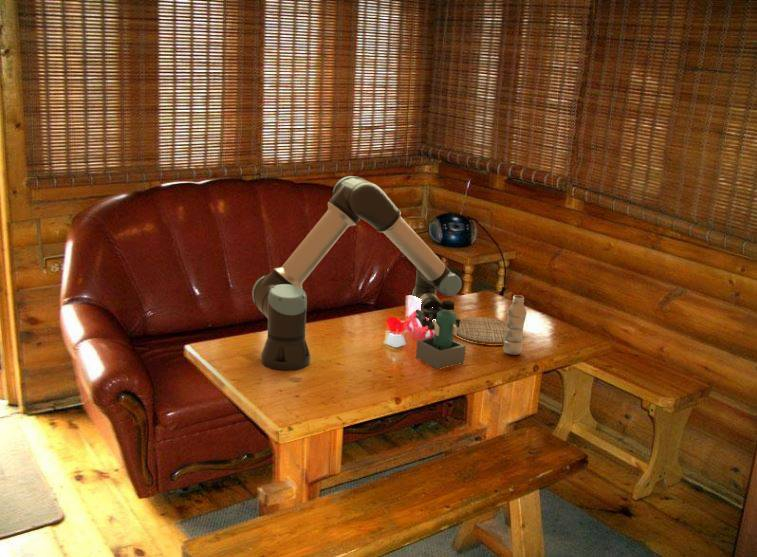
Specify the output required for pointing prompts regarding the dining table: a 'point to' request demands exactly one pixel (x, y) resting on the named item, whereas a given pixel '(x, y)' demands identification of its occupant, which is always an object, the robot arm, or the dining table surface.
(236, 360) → the dining table surface
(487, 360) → the dining table surface
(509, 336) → the plastic bottle
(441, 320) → the beverage bottle
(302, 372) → the dining table surface
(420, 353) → the bottle holder
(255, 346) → the dining table surface
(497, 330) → the trivet
